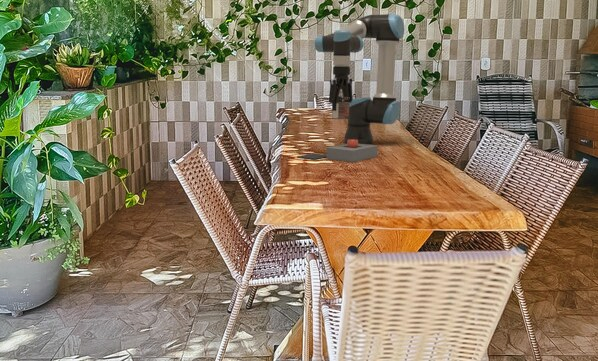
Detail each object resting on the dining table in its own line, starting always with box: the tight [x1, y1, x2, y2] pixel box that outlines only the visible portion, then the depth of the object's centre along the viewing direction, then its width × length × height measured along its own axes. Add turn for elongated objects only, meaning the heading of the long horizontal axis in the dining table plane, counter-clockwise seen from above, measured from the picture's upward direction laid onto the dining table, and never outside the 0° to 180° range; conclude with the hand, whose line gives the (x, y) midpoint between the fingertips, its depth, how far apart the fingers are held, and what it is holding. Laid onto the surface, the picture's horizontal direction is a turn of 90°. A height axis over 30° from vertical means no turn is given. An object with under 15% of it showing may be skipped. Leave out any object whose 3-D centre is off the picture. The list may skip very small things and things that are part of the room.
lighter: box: [331, 95, 349, 120], centre depth 314 cm, size 8×3×10 cm, turn 103°
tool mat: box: [296, 152, 327, 161], centre depth 315 cm, size 12×10×1 cm
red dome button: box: [346, 139, 358, 148], centre depth 313 cm, size 5×5×5 cm
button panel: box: [326, 143, 379, 163], centre depth 314 cm, size 20×14×5 cm
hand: (340, 117), depth 315 cm, fingers closed on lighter, 7 cm apart
